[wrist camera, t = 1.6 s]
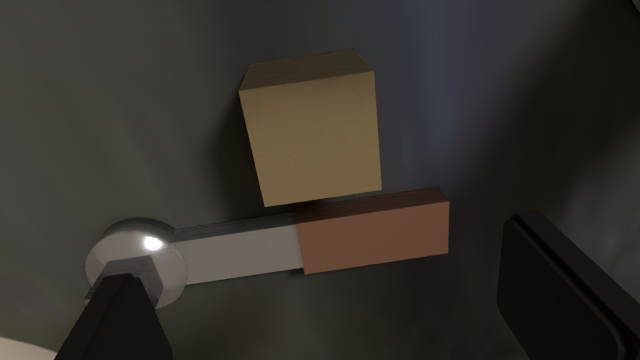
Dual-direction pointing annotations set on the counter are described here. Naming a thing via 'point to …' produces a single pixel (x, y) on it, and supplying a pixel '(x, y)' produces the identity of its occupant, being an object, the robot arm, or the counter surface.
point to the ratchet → (273, 242)
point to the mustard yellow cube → (312, 126)
